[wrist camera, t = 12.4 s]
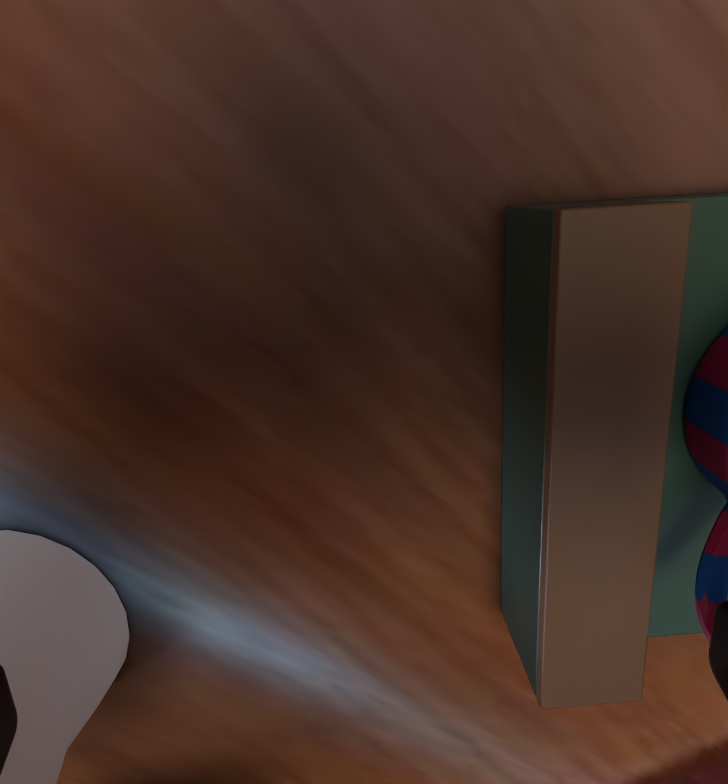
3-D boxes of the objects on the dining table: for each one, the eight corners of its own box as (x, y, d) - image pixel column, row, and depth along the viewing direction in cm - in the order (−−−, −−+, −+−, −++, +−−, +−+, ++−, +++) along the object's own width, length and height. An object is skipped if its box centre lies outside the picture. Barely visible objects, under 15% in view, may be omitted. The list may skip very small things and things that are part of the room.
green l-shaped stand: (823, 583, 22) (940, 675, 18) (500, 610, 22) (540, 710, 18) (906, 181, 18) (1085, 176, 14) (505, 205, 18) (561, 209, 13)
